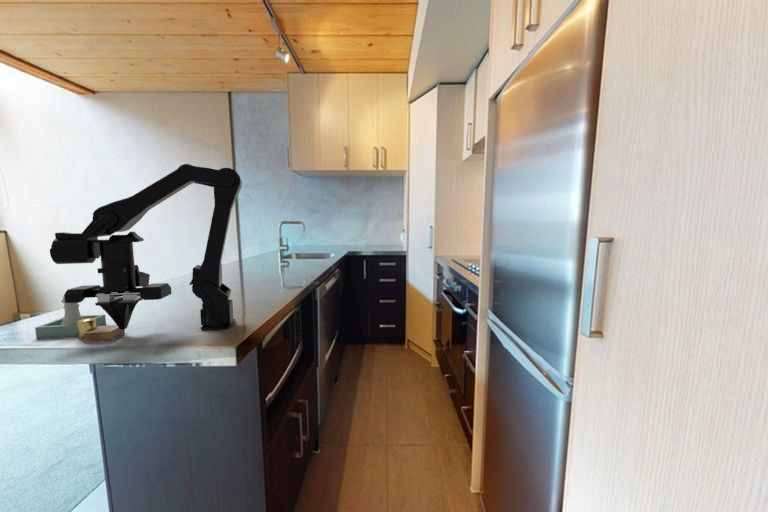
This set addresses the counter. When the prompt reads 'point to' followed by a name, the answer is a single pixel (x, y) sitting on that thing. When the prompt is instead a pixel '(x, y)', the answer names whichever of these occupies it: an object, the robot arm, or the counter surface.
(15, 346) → the counter surface
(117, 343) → the counter surface
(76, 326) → the tray
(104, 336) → the flat brown wooden block
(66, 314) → the rook chess piece
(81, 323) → the gold metallic block
